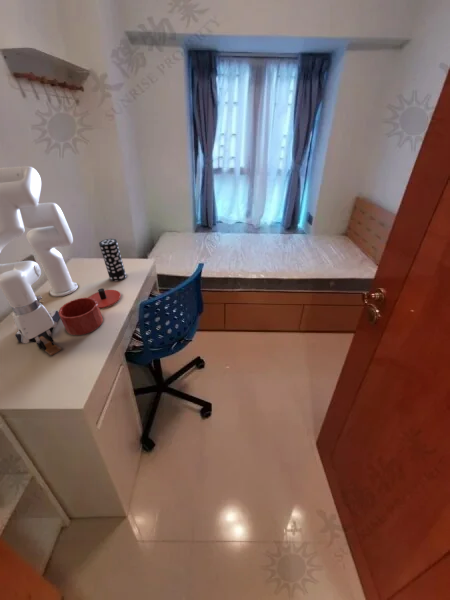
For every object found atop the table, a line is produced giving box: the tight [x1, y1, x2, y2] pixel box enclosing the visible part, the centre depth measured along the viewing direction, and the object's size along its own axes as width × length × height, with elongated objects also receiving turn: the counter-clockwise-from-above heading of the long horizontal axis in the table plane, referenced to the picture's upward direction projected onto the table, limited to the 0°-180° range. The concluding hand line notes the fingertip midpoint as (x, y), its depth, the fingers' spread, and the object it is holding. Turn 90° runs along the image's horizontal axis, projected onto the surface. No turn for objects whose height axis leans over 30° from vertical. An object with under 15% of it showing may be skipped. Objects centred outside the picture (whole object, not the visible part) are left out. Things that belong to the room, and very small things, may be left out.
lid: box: [88, 288, 122, 309], centre depth 129 cm, size 15×15×6 cm
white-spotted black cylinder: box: [98, 238, 127, 282], centre depth 143 cm, size 8×8×20 cm
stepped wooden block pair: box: [39, 336, 62, 356], centre depth 103 cm, size 10×4×3 cm, turn 57°
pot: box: [58, 297, 104, 336], centre depth 113 cm, size 14×14×8 cm
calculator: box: [14, 309, 60, 343], centre depth 113 cm, size 11×4×15 cm
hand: (47, 346), depth 104 cm, fingers closed on stepped wooden block pair, 2 cm apart
